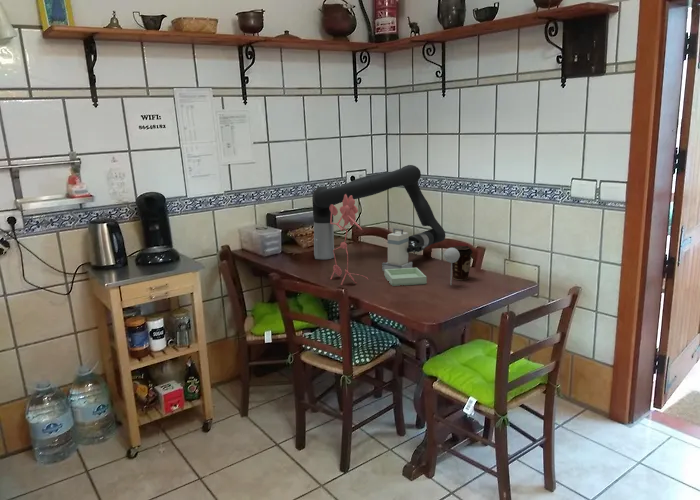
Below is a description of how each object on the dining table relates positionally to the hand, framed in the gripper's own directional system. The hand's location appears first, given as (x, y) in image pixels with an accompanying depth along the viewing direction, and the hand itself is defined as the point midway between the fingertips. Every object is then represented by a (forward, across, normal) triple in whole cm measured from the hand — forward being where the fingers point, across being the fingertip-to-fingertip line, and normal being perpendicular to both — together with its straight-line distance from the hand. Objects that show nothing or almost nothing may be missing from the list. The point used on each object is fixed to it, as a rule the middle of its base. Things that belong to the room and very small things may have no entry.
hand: (399, 249), depth 236 cm
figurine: (+25, -8, +9) cm, 28 cm away
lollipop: (+9, +29, +9) cm, 32 cm away
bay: (+1, 0, +9) cm, 9 cm away
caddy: (+1, 0, +9) cm, 9 cm away
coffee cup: (-2, +28, +9) cm, 30 cm away
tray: (+13, +11, +9) cm, 19 cm away
